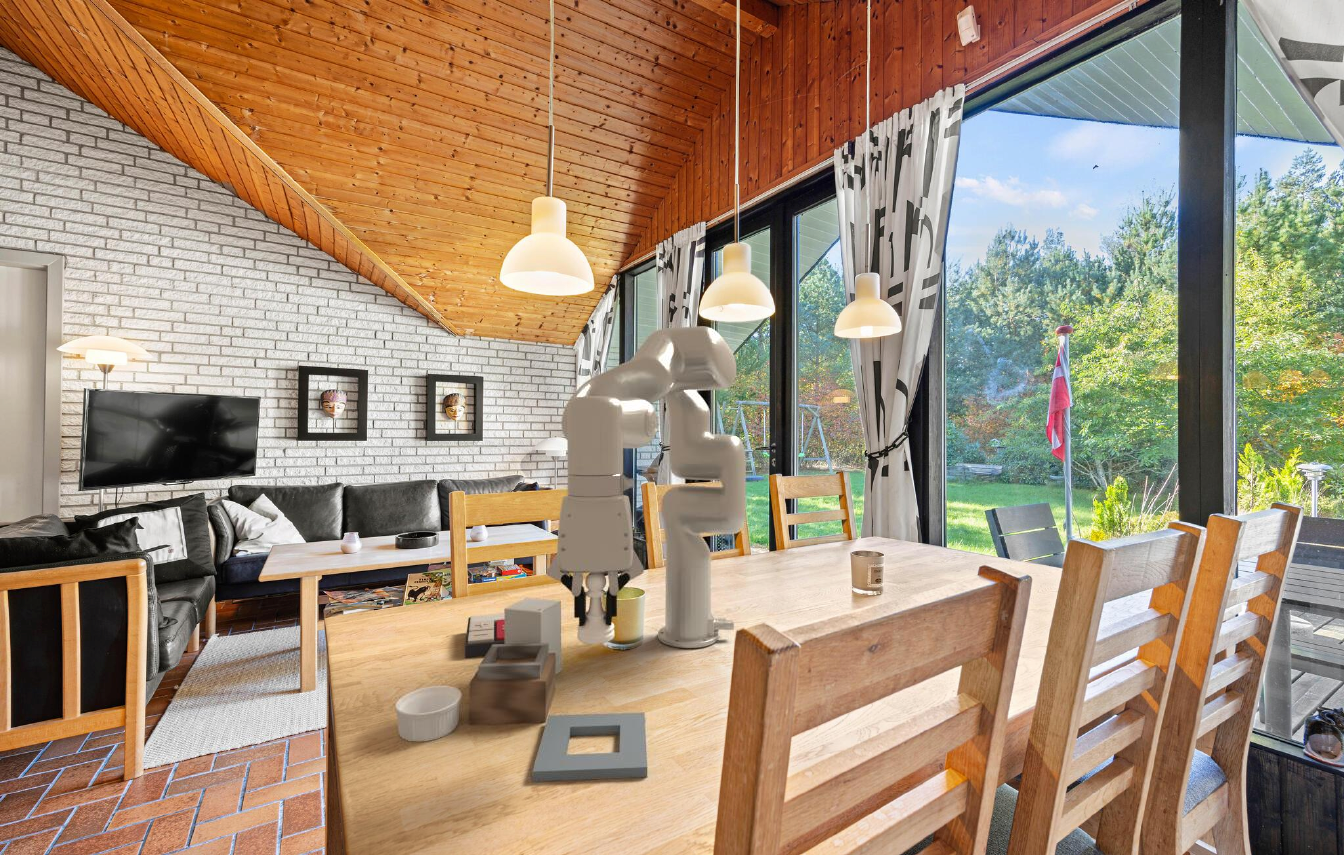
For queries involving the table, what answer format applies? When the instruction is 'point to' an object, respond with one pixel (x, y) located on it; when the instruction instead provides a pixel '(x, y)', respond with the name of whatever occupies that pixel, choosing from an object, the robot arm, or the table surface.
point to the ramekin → (428, 713)
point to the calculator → (484, 634)
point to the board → (596, 765)
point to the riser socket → (513, 685)
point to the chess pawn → (595, 613)
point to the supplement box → (535, 624)
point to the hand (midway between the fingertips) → (595, 621)
